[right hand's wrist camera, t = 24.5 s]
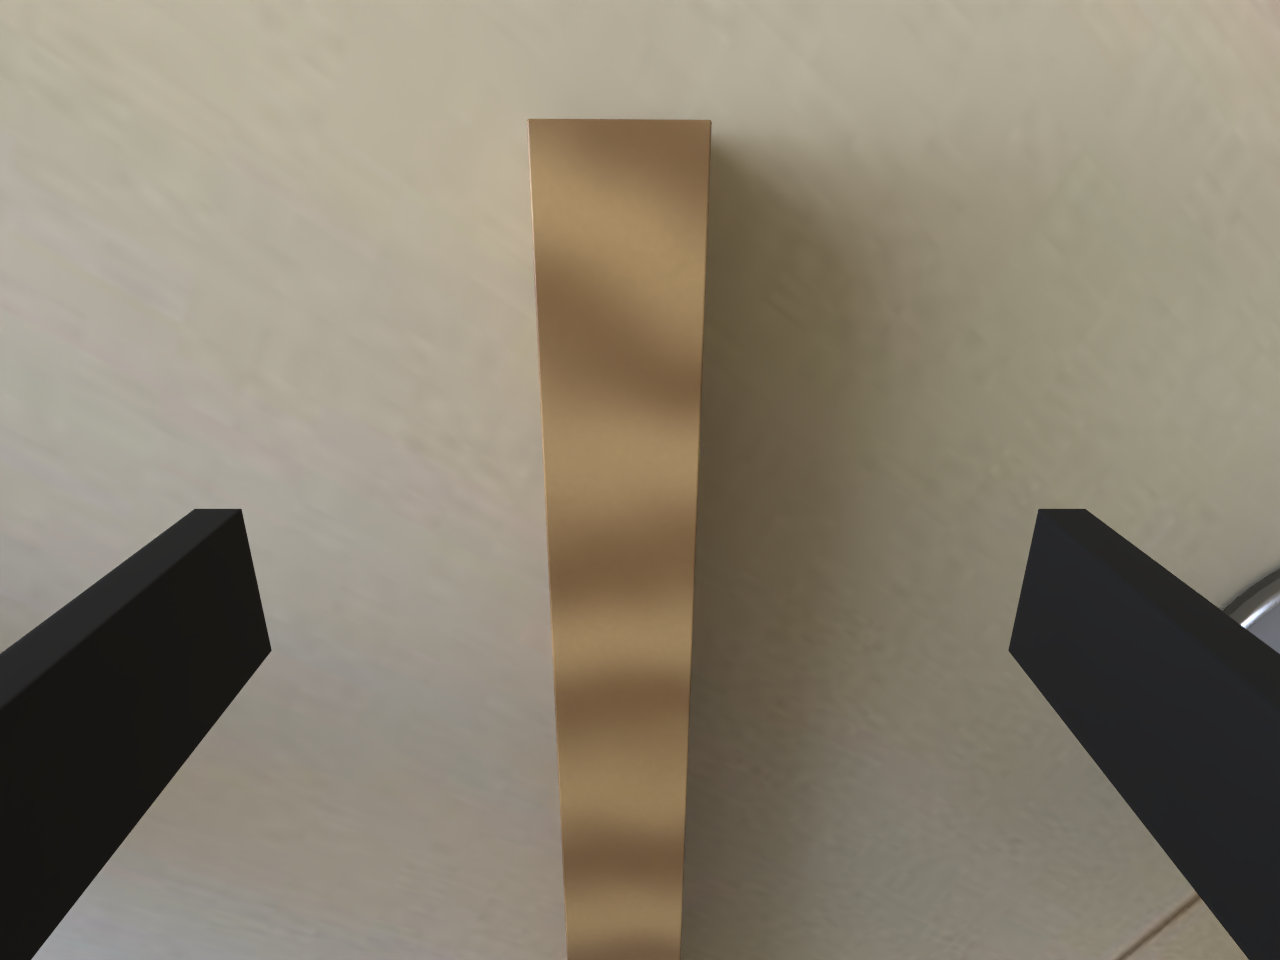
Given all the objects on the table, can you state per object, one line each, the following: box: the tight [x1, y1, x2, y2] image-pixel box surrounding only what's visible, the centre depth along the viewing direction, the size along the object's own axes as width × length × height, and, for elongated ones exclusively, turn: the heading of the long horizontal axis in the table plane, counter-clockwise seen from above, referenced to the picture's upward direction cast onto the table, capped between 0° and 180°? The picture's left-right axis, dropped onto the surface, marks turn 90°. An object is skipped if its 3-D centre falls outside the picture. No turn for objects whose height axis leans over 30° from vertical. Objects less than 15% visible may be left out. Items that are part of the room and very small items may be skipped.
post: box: [527, 119, 712, 960], centre depth 34 cm, size 54×5×7 cm, turn 0°
